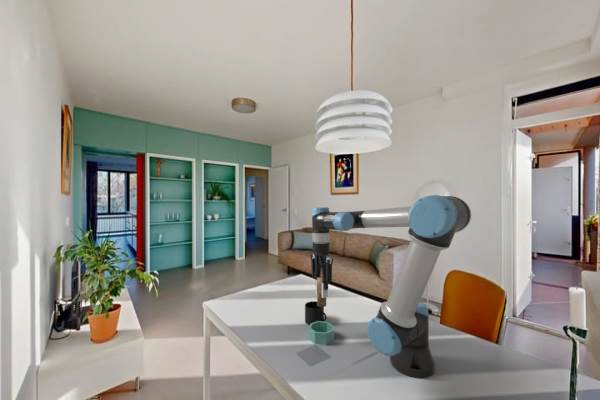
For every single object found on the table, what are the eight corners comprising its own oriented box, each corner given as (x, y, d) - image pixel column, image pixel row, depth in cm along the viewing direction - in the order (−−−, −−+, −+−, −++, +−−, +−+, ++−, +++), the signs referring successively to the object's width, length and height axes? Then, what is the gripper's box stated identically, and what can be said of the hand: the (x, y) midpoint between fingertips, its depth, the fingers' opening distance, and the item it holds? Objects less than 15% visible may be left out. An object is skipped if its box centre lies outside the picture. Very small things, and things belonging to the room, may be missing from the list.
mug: (320, 331, 118) (320, 311, 118) (301, 323, 126) (301, 305, 126) (331, 324, 125) (331, 305, 126) (312, 317, 133) (312, 299, 133)
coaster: (331, 359, 97) (331, 356, 97) (310, 368, 92) (310, 366, 92) (315, 346, 106) (315, 344, 106) (295, 354, 100) (295, 352, 100)
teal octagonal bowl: (338, 341, 110) (338, 328, 110) (319, 349, 104) (319, 335, 104) (323, 331, 118) (323, 319, 118) (304, 337, 113) (304, 325, 113)
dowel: (328, 305, 111) (327, 277, 111) (321, 307, 108) (320, 279, 109) (322, 302, 114) (322, 275, 114) (315, 304, 112) (315, 277, 112)
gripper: (340, 243, 107) (341, 299, 106) (316, 239, 121) (316, 288, 120) (326, 245, 103) (327, 303, 102) (303, 240, 117) (303, 291, 116)
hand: (321, 295), depth 111 cm, fingers closed on dowel, 4 cm apart
